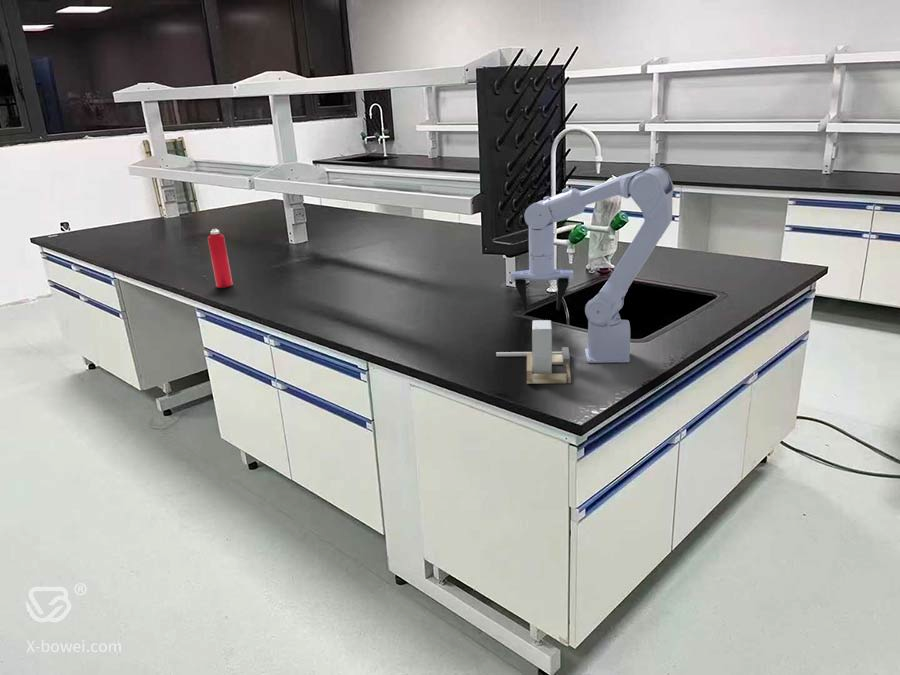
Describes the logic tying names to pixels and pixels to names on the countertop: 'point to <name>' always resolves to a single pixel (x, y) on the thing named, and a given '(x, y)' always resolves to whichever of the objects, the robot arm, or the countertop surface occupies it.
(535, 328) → the skincare box
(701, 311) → the countertop surface
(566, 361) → the rail
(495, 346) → the countertop surface
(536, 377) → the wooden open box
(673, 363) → the countertop surface
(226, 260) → the bottle
